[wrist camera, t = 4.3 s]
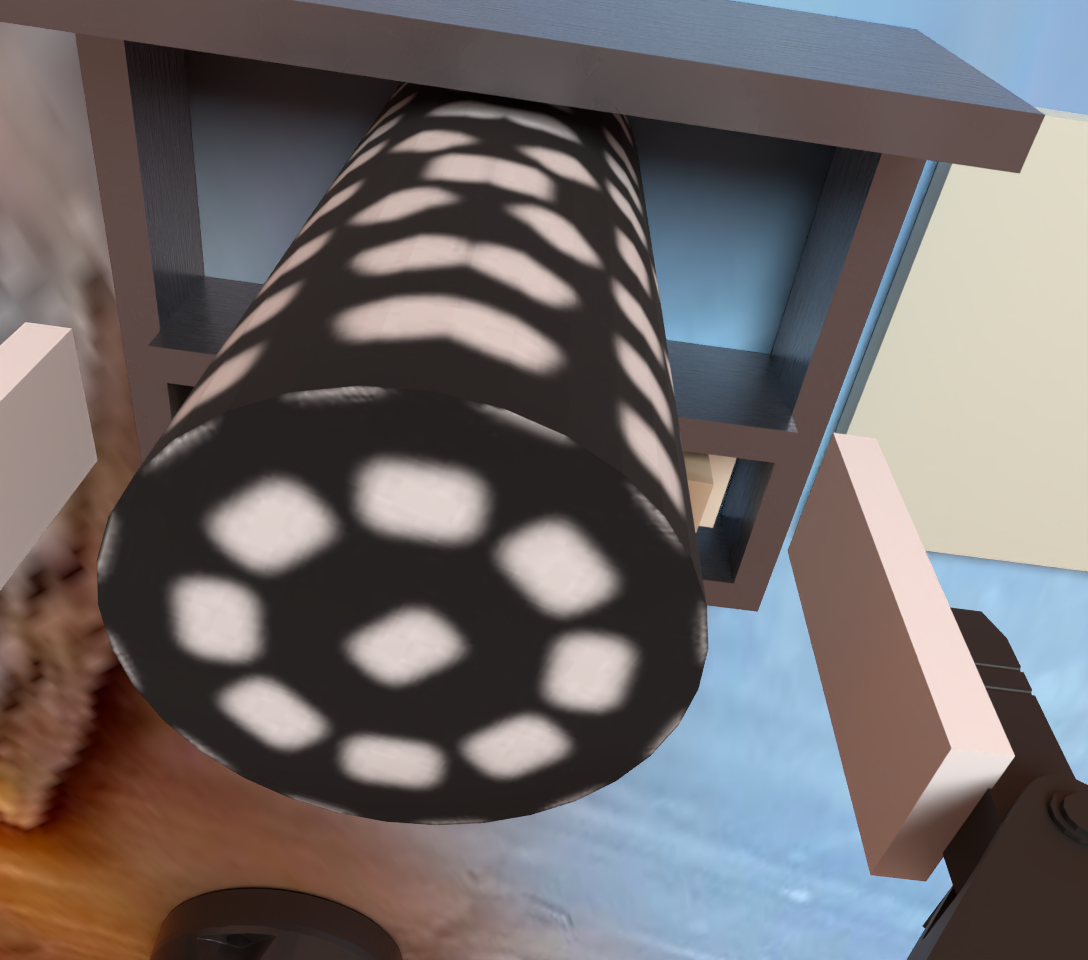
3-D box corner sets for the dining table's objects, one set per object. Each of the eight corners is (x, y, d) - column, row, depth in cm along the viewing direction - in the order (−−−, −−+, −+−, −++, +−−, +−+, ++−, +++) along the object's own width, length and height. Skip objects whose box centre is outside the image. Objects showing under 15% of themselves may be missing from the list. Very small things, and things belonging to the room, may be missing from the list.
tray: (916, 29, 26) (1045, 114, 19) (742, 541, 37) (780, 719, 30) (126, -94, 25) (-64, -54, 18) (191, 471, 36) (92, 638, 29)
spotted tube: (535, -31, 25) (448, 245, 9) (688, 211, 29) (815, 705, 13) (318, 145, 28) (-33, 585, 12) (482, 344, 32) (379, 877, 16)
